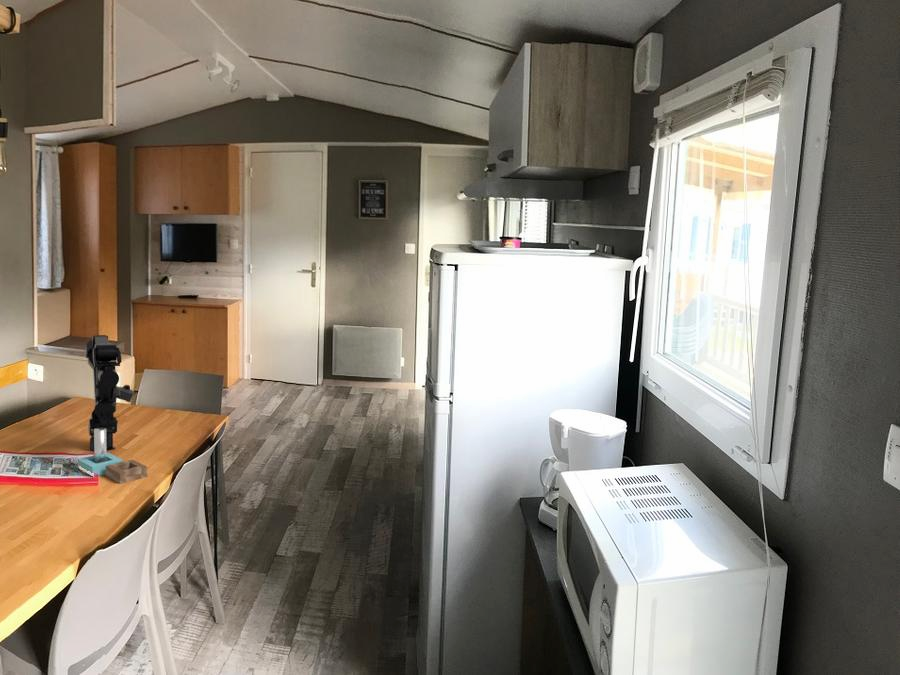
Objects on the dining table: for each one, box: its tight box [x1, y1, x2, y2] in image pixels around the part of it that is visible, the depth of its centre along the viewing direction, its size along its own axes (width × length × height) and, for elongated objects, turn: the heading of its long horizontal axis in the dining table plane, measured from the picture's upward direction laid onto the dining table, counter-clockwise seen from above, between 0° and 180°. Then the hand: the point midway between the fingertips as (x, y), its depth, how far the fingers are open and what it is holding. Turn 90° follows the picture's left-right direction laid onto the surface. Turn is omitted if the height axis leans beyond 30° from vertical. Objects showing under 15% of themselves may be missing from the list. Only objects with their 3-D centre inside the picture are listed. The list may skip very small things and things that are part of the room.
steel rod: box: [93, 428, 107, 464], centre depth 218 cm, size 4×4×14 cm
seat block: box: [77, 452, 124, 477], centre depth 219 cm, size 10×10×4 cm
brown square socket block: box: [105, 458, 148, 484], centre depth 215 cm, size 9×9×4 cm
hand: (106, 425), depth 225 cm, fingers open, 9 cm apart
